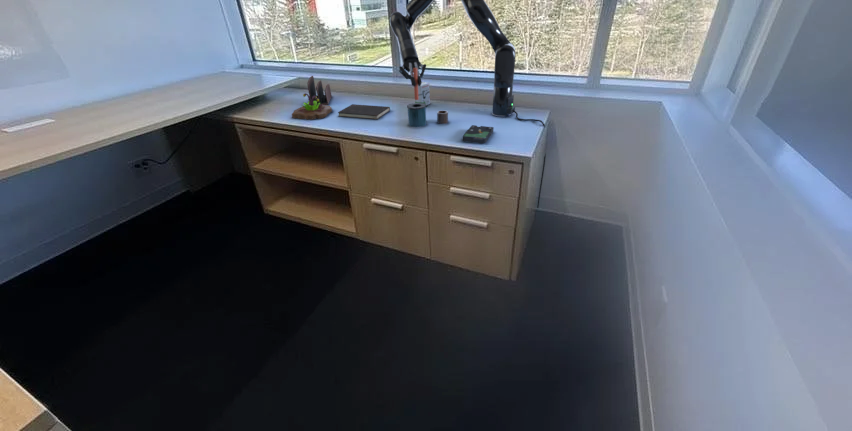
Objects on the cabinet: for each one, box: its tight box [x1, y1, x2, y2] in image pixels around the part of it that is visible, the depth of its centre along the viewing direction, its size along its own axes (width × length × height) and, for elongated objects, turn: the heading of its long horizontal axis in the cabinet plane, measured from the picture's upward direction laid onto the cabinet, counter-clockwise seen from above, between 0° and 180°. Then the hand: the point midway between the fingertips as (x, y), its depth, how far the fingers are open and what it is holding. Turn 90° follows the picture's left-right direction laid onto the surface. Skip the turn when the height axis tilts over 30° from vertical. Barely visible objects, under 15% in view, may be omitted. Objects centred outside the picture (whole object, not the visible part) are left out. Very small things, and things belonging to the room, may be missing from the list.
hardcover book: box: [337, 103, 391, 121], centre depth 203 cm, size 16×23×2 cm
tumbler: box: [407, 105, 427, 128], centre depth 182 cm, size 9×9×9 cm
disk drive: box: [461, 124, 495, 144], centre depth 166 cm, size 10×3×15 cm
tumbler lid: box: [406, 102, 427, 109], centre depth 179 cm, size 9×9×1 cm
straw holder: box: [436, 110, 449, 125], centre depth 183 cm, size 5×5×6 cm
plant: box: [291, 93, 333, 121], centre depth 203 cm, size 20×20×11 cm
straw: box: [413, 68, 419, 101], centre depth 174 cm, size 2×2×14 cm
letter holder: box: [307, 75, 333, 106], centre depth 224 cm, size 10×20×14 cm, turn 6°
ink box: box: [414, 81, 431, 106], centre depth 209 cm, size 9×5×12 cm, turn 147°
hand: (417, 85), depth 172 cm, fingers closed on straw, 2 cm apart
